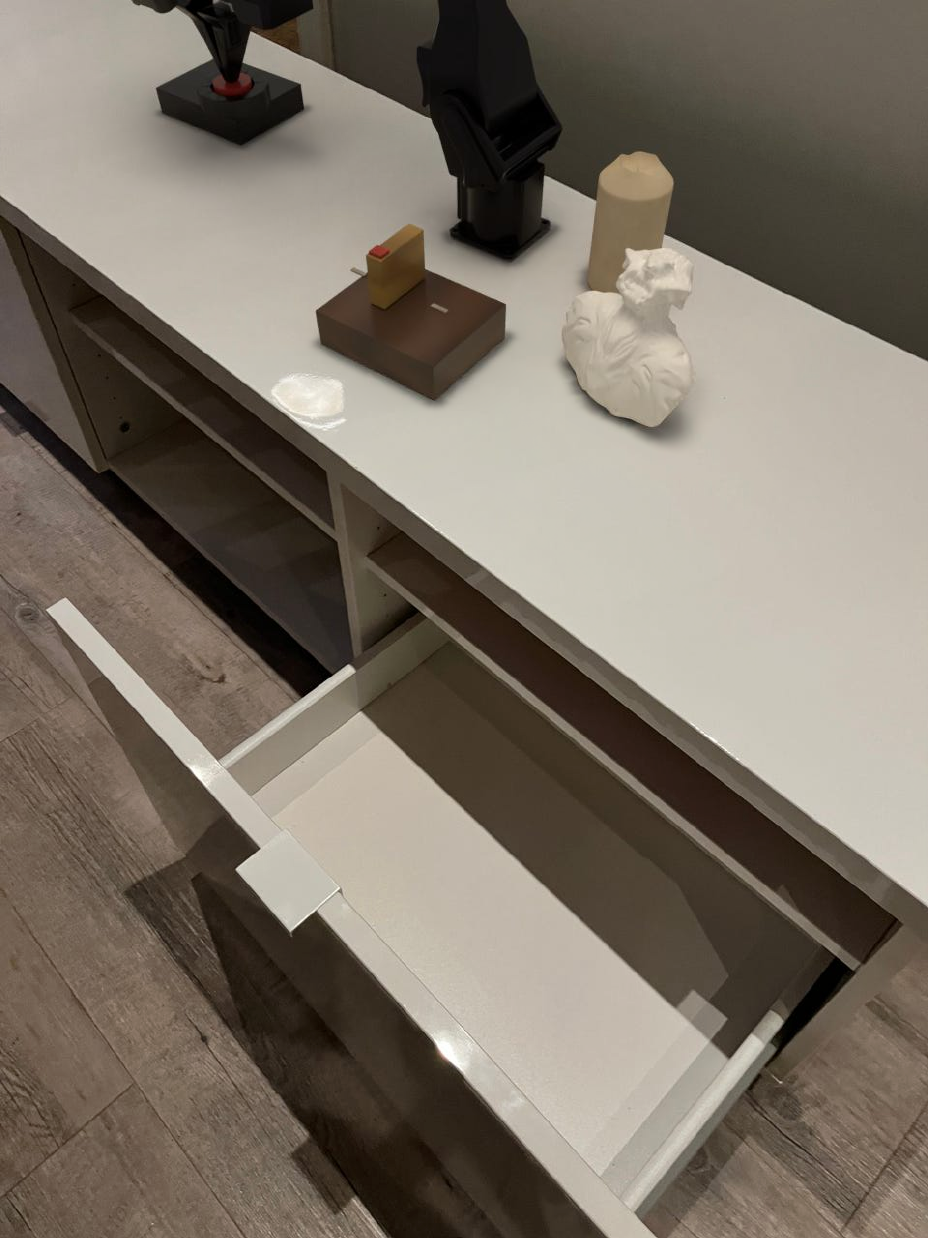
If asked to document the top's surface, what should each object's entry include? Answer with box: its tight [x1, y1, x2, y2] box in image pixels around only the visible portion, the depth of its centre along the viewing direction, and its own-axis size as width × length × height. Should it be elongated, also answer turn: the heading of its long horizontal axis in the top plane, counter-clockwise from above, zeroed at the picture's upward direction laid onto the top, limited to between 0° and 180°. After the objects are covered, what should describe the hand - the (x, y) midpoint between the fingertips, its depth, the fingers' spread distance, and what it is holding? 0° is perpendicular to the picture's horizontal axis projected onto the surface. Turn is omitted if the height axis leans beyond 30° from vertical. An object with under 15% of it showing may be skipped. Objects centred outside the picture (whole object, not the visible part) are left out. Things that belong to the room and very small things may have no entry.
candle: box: [587, 151, 675, 296], centre depth 71 cm, size 6×6×10 cm
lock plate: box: [315, 266, 507, 401], centre depth 70 cm, size 12×9×3 cm
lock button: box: [213, 73, 253, 96], centre depth 87 cm, size 4×4×2 cm
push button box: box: [155, 58, 305, 146], centre depth 90 cm, size 12×10×4 cm
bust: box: [561, 247, 697, 428], centre depth 64 cm, size 12×8×11 cm
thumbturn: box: [365, 223, 426, 309], centre depth 68 cm, size 5×1×4 cm, turn 144°
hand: (231, 80), depth 87 cm, fingers closed, pressing on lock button
